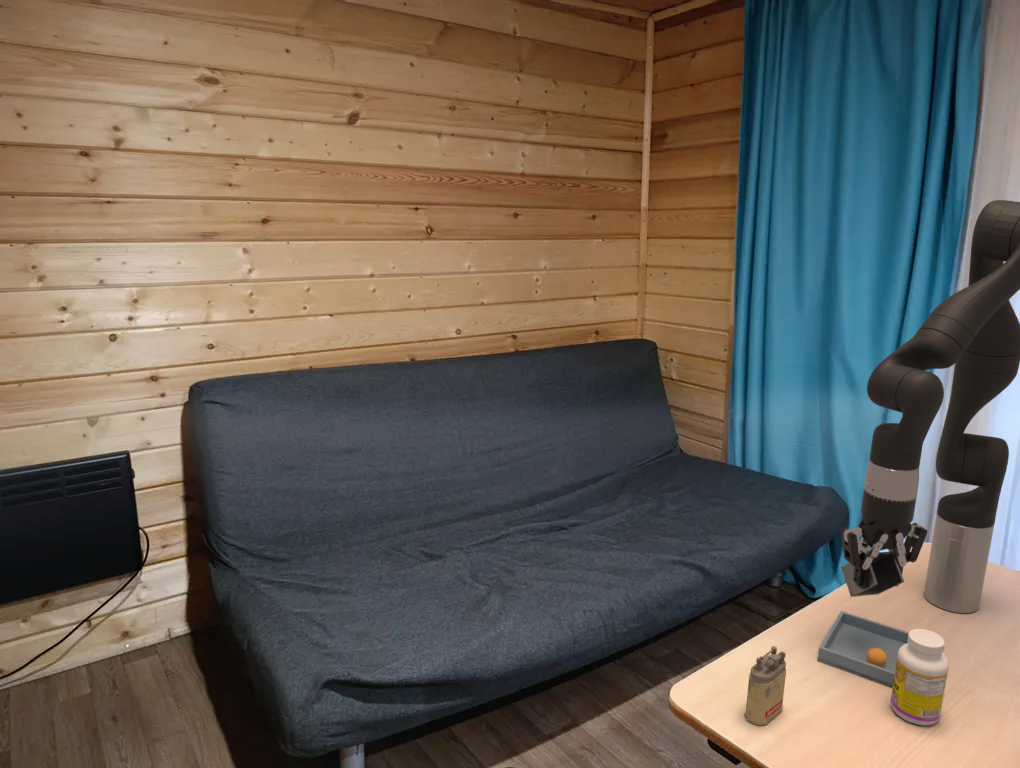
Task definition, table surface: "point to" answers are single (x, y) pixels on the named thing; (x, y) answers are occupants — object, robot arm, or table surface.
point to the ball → (876, 657)
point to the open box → (875, 575)
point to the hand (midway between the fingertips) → (876, 584)
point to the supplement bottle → (920, 678)
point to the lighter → (766, 688)
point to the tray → (862, 647)
